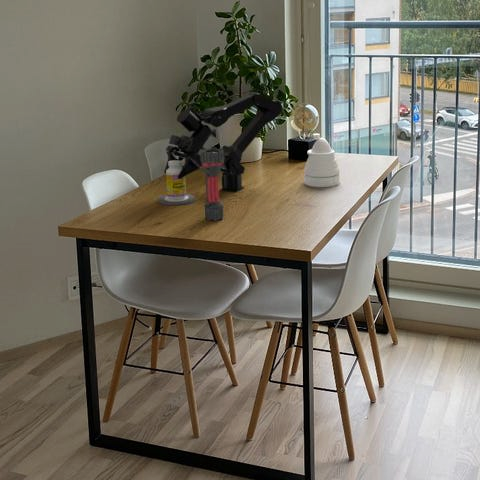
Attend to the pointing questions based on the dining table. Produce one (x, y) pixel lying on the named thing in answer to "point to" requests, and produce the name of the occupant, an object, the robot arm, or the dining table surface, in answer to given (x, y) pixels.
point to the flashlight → (212, 181)
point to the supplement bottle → (175, 181)
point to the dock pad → (166, 201)
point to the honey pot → (321, 165)
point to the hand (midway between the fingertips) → (171, 175)
